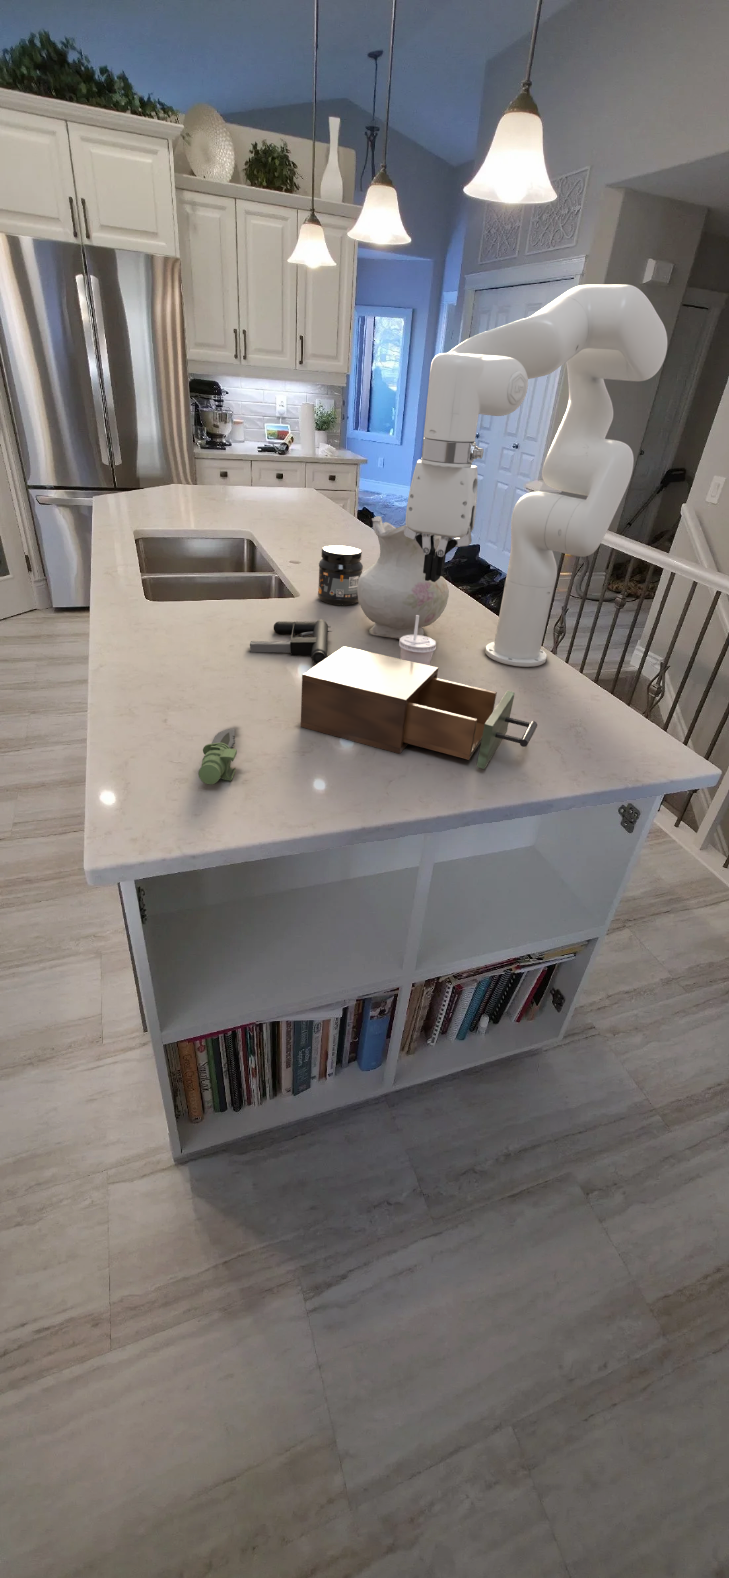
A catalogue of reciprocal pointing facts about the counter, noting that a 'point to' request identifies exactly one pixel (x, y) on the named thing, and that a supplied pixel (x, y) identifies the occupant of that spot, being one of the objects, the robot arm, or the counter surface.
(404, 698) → the cabinet
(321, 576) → the supplement container
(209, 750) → the knife
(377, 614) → the ceramic pitcher
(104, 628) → the counter surface
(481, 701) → the drawer
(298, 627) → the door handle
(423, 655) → the smoothie
